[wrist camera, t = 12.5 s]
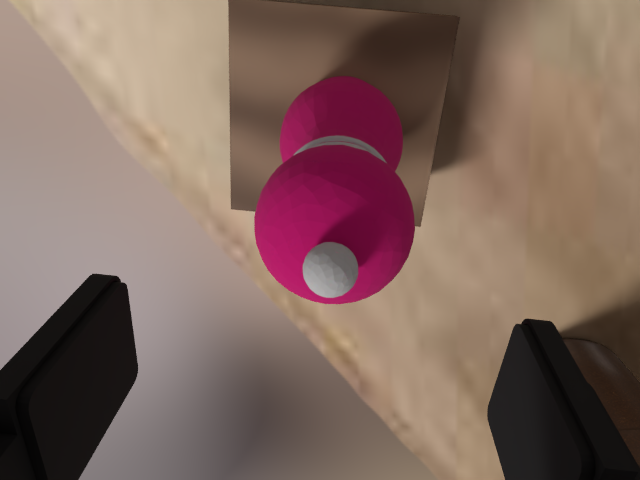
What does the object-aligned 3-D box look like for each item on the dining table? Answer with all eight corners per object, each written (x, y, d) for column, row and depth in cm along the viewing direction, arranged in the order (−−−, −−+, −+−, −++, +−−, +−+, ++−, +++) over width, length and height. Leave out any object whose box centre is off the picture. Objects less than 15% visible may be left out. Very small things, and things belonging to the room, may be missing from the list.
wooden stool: (247, -3, 35) (228, -3, 29) (443, 13, 34) (459, 17, 29) (246, 181, 41) (231, 209, 36) (411, 196, 41) (420, 226, 35)
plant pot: (620, 443, 52) (721, 613, 38) (468, 439, 53) (511, 603, 39) (665, 321, 45) (811, 475, 31) (487, 318, 46) (548, 466, 32)
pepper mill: (272, 148, 33) (180, 325, 16) (315, 47, 30) (262, 124, 12) (365, 191, 34) (379, 404, 17) (417, 97, 31) (501, 236, 13)
